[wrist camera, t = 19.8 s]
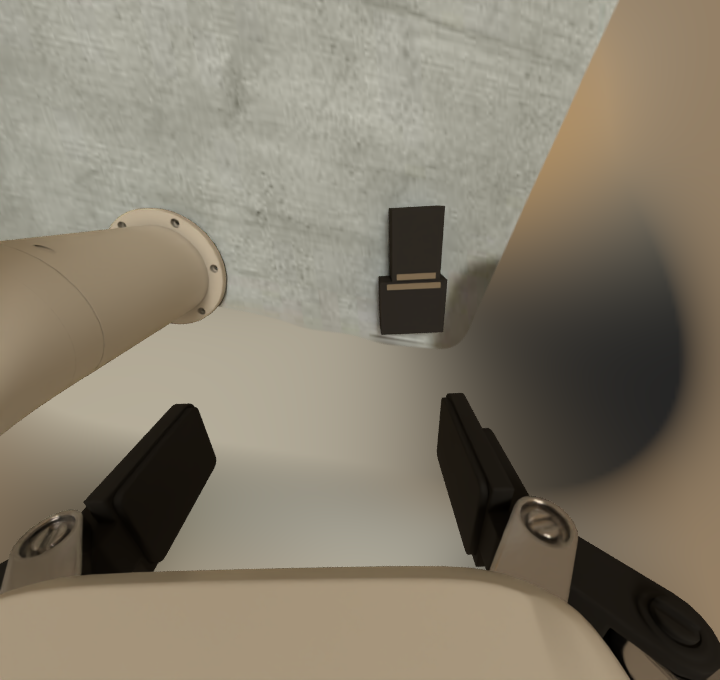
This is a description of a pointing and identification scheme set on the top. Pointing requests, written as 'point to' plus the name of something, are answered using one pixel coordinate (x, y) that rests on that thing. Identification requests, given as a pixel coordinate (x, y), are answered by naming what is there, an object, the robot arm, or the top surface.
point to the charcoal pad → (411, 306)
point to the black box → (415, 243)
